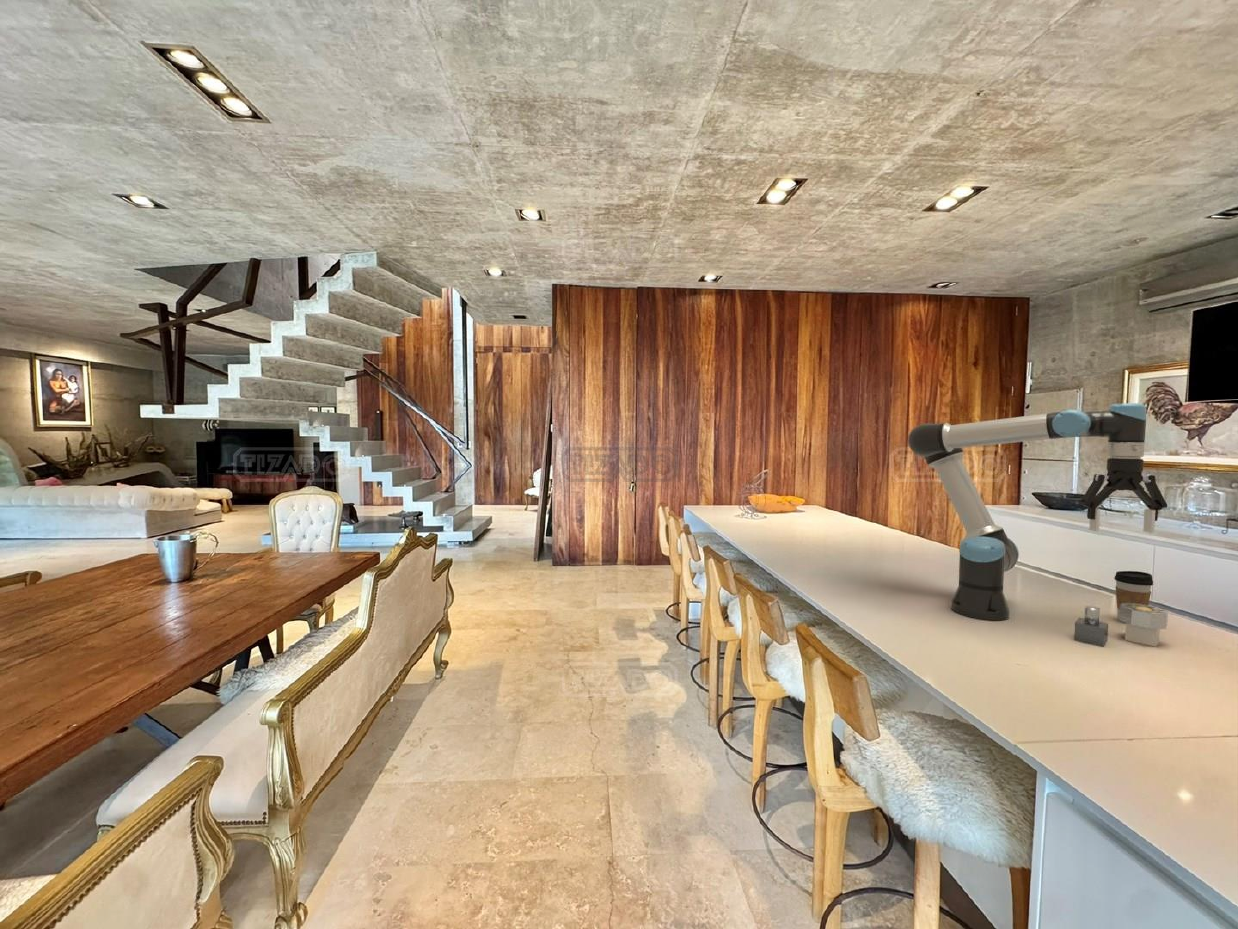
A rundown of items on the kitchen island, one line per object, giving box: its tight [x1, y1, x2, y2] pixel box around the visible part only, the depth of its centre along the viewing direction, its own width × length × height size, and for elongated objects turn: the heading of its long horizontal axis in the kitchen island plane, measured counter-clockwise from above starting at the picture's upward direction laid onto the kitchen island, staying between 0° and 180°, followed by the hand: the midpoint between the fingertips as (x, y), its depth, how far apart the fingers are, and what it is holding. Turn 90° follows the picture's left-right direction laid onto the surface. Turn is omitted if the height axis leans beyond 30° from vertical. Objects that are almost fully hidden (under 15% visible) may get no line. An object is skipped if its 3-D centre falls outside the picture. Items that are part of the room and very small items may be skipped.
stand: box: [1073, 605, 1109, 648], centre depth 143 cm, size 6×6×9 cm
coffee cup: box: [1114, 570, 1154, 624], centre depth 157 cm, size 8×8×15 cm
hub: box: [1124, 607, 1161, 648], centre depth 143 cm, size 6×6×9 cm
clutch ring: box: [1118, 603, 1169, 630], centre depth 143 cm, size 9×9×4 cm
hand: (1121, 531), depth 150 cm, fingers open, 13 cm apart
